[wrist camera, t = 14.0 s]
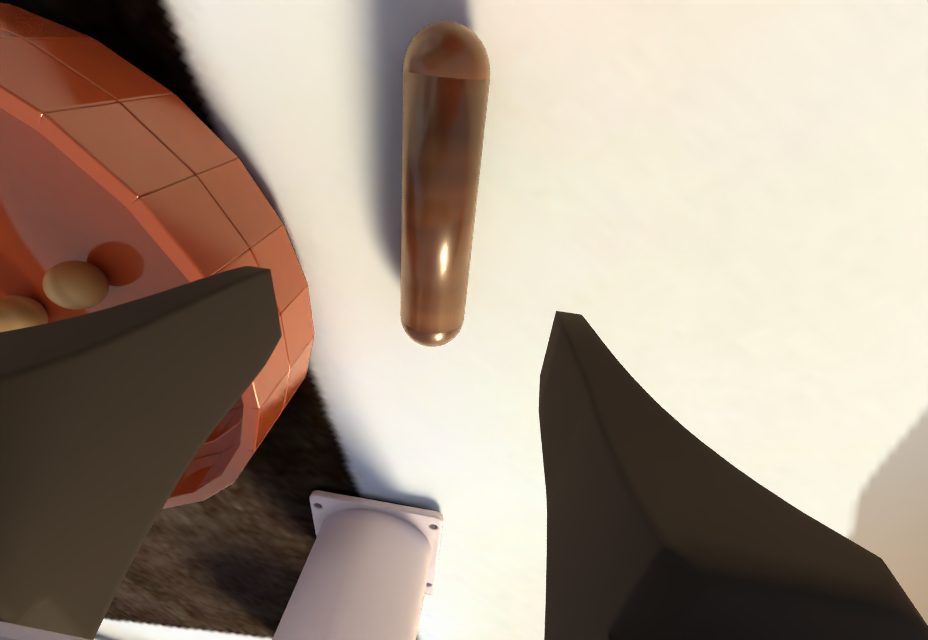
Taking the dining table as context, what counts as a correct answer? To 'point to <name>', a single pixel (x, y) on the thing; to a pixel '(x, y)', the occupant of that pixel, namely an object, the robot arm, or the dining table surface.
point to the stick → (440, 176)
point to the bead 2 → (75, 285)
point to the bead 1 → (21, 313)
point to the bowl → (136, 210)
